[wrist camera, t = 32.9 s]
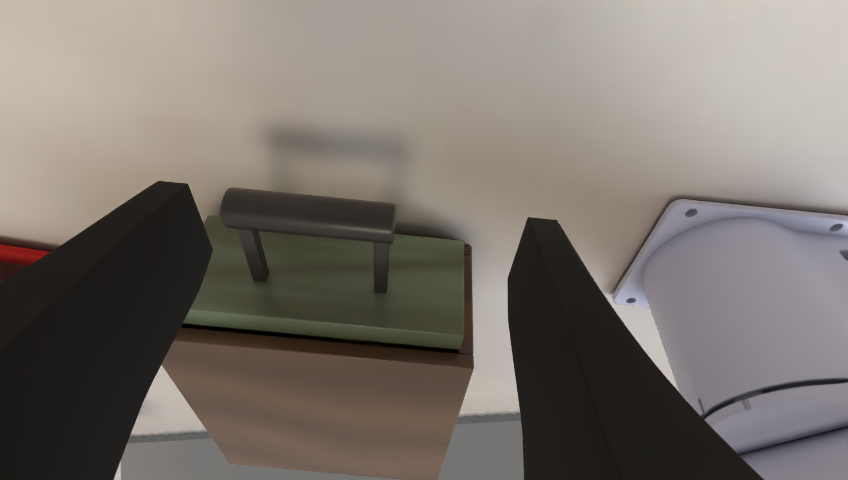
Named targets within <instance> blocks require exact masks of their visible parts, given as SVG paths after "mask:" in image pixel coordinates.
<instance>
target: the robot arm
mask: <svg viewBox="0 0 848 480" xmlns="http://www.w3.org/2000/svg"><path fill="white" fill-rule="evenodd" d="M690 209H692V210H691V211H688V210H690ZM212 252H213V248H212V245H211V243H210V240H209V238H208V235H207V232H206V230H205V227H204V225H203V222H202V219H201V217H200V214H199V212H198V209H197V206H196V204H195V201H194V199H193V196H192V193H191V191H190V188H189V186H188V184H184V183H174V182H164V181H158V182H156V183H155V184H153V185H151V186H150V187H148V188H147V189H145V190H143V191H142V192H140V193H139V194H137V195H136V196H134V197H133V198H131V199H130V200H128V201H127V202H125V203H124V204H122V205H121V206H119V207H118V208H116V209H115V210H113V211H112V212H111V213H109V214H108V215H106V216H105V217H103V218H102V219H100V220H99V221H97V222H96V223H94V224H93V225H91V226H90V227H88V228H87V229H85V230H84V231H82V232H81V233H79V234H78V235H76V236H75V237H73V238H72V239H70V240H69V241H67V242H66V243H64V244H63V245H61V246H60V247H58V248H57V249H55V250H53V251H52V252H50V253H48V254H47V255H45V256H44V257H42V258H40V259H39V260H37V261H35V262H34V263H32V264H31V265H29V266H27V267H26V268H24V269H22V270H21V271H19V272H18V273H16V274H14V275H13V276H11V277H10V278H8V279H6V280H5V281H3V282H1V283H0V480H114V478H115V475H116V472H117V469H118V467H119V464H120V461H121V458H122V455H123V453H124V450H125V447H126V444H127V442H128V439H129V437H130V434H131V431H132V429H133V426H134V424H135V421H136V419H137V416H138V414H139V411H140V408H141V406H142V403H143V401H144V399H145V397H146V395H147V392H148V390H149V388H150V386H151V384H152V382H153V380H154V378H155V376H156V374H157V372H158V370H159V368H160V366H161V364H162V362H163V360H164V358H165V357H166V355H167V353H168V351H169V349H170V347H171V345H172V343H173V341H174V339H175V337H176V335H177V333H178V332H179V330H180V328H181V326H182V324H183V322H184V320H185V318H186V316H187V314H188V312H189V310H190V308H191V306H192V304H193V302H194V300H195V298H196V296H197V294H198V292H199V290H200V287H201V284H202V282H203V279H204V276H205V274H206V271H207V268H208V264H209V261H210V258H211V255H212ZM612 297H613V301H614V302H615V303H616V304H622V305H632V306H643V307H650V309H651V312H652V315H653V318H654V321H655V323H656V326H657V329H658V332H659V335H660V338H661V341H662V344H663V346H664V349H665V352H666V355H667V358H668V361H669V364H670V367H671V369H672V372H673V375H674V378H675V381H676V384H677V387H678V390H679V392H680V393H679V392H678V391H677V389H676V388H675V387H674V386H673V385H672V384H671V383H670V381H669V380H668V379H667V378H666V377H665V376H664V374H663V373H662V372H661V371H660V370H659V368H658V367H657V366H656V365H655V364H654V362H653V361H652V360H651V359H650V357H649V356H648V355H647V354H646V352H645V351H644V350H643V348H642V347H641V346H640V345H639V343H638V342H637V341H636V339H635V338H634V337H633V335H632V334H631V333H630V331H629V330H628V329H627V327H626V326H625V325H624V323H623V322H622V320H621V319H620V318H619V316H618V315H617V313H616V312H615V311H614V309H613V308H612V306H611V305H610V303H609V302H608V300H607V299H606V297H605V296H604V294H603V293H602V291H601V290H600V288H599V287H598V285H597V284H596V282H595V281H594V279H593V278H592V276H591V275H590V273H589V272H588V270H587V268H586V267H585V265H584V264H583V262H582V260H581V259H580V257H579V255H578V254H577V252H576V251H575V249H574V247H573V246H572V244H571V242H570V241H569V239H568V237H567V236H566V234H565V232H564V231H563V229H562V227H561V226H560V224H559V223H558V221H557V220H550V219H539V218H529V217H528V219H527V222H526V225H525V228H524V231H523V234H522V237H521V240H520V243H519V246H518V249H517V252H516V255H515V258H514V261H513V264H512V267H511V270H510V273H509V276H508V323H509V331H510V339H511V346H512V354H513V362H514V369H515V376H516V384H517V391H518V399H519V406H520V413H521V423H522V433H523V457H524V480H848V216H845V215H835V214H825V213H815V212H805V211H795V210H785V209H775V208H765V207H755V206H746V205H736V204H726V203H716V202H706V201H696V200H686V199H679V200H676V201H674V202H672V203H671V204H670V205H669V206H668V207H667V209H666V210H665V212H664V213H663V215H662V217H661V218H660V220H659V221H658V223H657V225H656V226H655V228H654V229H653V231H652V233H651V234H650V236H649V237H648V239H647V241H646V242H645V244H644V245H643V247H642V248H641V250H640V252H639V253H638V255H637V256H636V258H635V260H634V261H633V263H632V264H631V266H630V268H629V269H628V271H627V272H626V274H625V276H624V277H623V279H622V280H621V282H620V284H619V285H618V287H617V288H616V290H615V291H614V293H613V295H612Z"/></svg>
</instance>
